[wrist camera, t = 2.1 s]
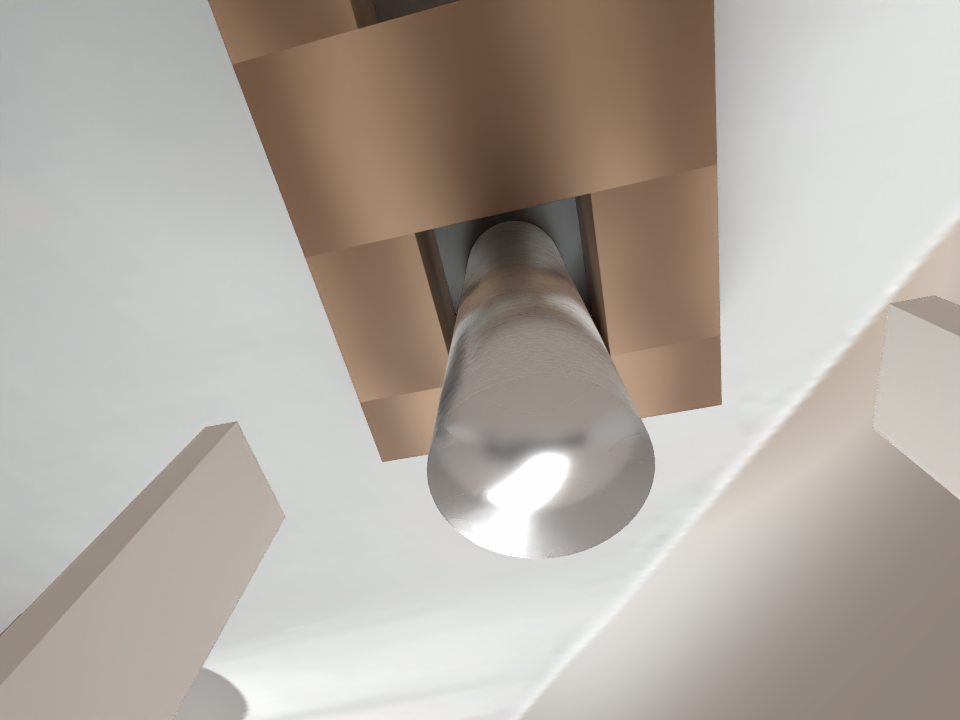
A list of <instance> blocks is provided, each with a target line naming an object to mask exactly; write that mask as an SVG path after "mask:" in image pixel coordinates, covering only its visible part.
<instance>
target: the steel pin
mask: <svg viewBox="0 0 960 720" xmlns="http://www.w3.org/2000/svg"><path fill="white" fill-rule="evenodd" d="M654 472H655V457H654V451H653V446H652V443H651V440H650V437H649V434H648V432H647V430H646V428H645V426H644V424H643V422H642V420H641V418H640V416H639V414H638V412H637V410H636V408H635V406H634V404H633V402H632V400H631V398H630V396H629V394H628V391H627V389H626V387H625V385H624V383H623V381H622V379H621V377H620V375H619V373H618V371H617V369H616V367H615V365H614V363H613V361H612V359H611V357H610V355H609V353H608V351H607V349H606V347H605V345H604V343H603V341H602V339H601V337H600V335H599V333H598V331H597V329H596V326H595V324H594V322H593V320H592V318H591V316H590V314H589V312H588V310H587V308H586V306H585V304H584V302H583V300H582V298H581V296H580V294H579V292H578V290H577V288H576V286H575V284H574V282H573V280H572V278H571V276H570V274H569V272H568V270H567V268H566V266H565V264H564V262H563V259H562V257H561V255H560V253H559V251H558V249H557V247H556V245H555V244H554V242H553V240H552V239H551V238H550V236H549V235H548V234H547V233H546V232H544V231H543V230H542V229H541V228H539V227H537V226H535V225H533V224H530V223H527V222H522V221H508V222H503V223H500V224H497V225H495V226H493V227H491V228H489V229H488V230H486V231H485V232H484V233H483V234H482V235H481V236H480V237H479V238H478V239H477V241H476V242H475V243H474V245H473V247H472V249H471V252H470V255H469V259H468V264H467V269H466V274H465V278H464V283H463V288H462V293H461V298H460V303H459V308H458V313H457V318H456V323H455V328H454V332H453V337H452V342H451V347H450V352H449V357H448V362H447V367H446V372H445V377H444V381H443V386H442V391H441V396H440V401H439V406H438V411H437V416H436V421H435V426H434V431H433V435H432V440H431V445H430V450H429V455H428V463H427V477H428V484H429V488H430V492H431V495H432V497H433V500H434V502H435V504H436V506H437V508H438V509H439V511H440V512H441V514H442V515H443V517H444V518H445V519H446V520H447V521H448V523H449V524H450V525H451V526H452V527H453V528H455V529H456V530H457V531H458V532H459V533H460V534H462V535H463V536H465V537H466V538H467V539H469V540H471V541H472V542H474V543H476V544H478V545H480V546H482V547H484V548H487V549H489V550H491V551H495V552H498V553H501V554H505V555H510V556H514V557H522V558H553V557H561V556H566V555H571V554H574V553H578V552H581V551H584V550H587V549H589V548H592V547H594V546H597V545H598V544H600V543H602V542H604V541H606V540H608V539H609V538H611V537H612V536H614V535H615V534H617V533H618V532H619V531H621V530H622V529H623V528H624V527H625V526H626V525H627V524H629V522H630V521H631V520H632V519H633V518H634V517H635V516H636V515H637V513H638V512H639V510H640V509H641V507H642V506H643V505H644V503H645V501H646V499H647V497H648V495H649V492H650V489H651V486H652V483H653V478H654Z"/></svg>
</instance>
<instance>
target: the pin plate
mask: <svg viewBox="0 0 960 720" xmlns="http://www.w3.org/2000/svg"><path fill="white" fill-rule="evenodd" d="M208 2H209V4H210V7H211V9H212V12H213V15H214V17H215V20H216V23H217V25H218V28H219V31H220V33H221V36H222V39H223V41H224V44H225V47H226V49H227V52H228V54H229V57H230V60H231V62H232V65H233V68H234V70H235V73H236V76H237V78H238V81H239V84H240V86H241V89H242V92H243V94H244V97H245V99H246V102H247V105H248V107H249V110H250V113H251V115H252V118H253V121H254V123H255V126H256V129H257V131H258V134H259V137H260V139H261V142H262V144H263V147H264V150H265V152H266V155H267V158H268V160H269V163H270V166H271V168H272V171H273V174H274V176H275V179H276V182H277V184H278V187H279V189H280V192H281V195H282V197H283V200H284V203H285V205H286V208H287V211H288V213H289V216H290V219H291V221H292V224H293V227H294V229H295V232H296V234H297V237H298V240H299V242H300V245H301V248H302V250H303V253H304V256H305V258H306V261H307V264H308V266H309V269H310V272H311V274H312V277H313V280H314V282H315V285H316V287H317V290H318V293H319V295H320V298H321V301H322V303H323V306H324V309H325V311H326V314H327V317H328V319H329V322H330V325H331V327H332V330H333V332H334V335H335V338H336V340H337V343H338V346H339V348H340V351H341V354H342V356H343V359H344V362H345V364H346V367H347V370H348V372H349V375H350V377H351V380H352V383H353V385H354V388H355V391H356V393H357V396H358V399H359V401H360V404H361V407H362V409H363V412H364V415H365V417H366V420H367V422H368V425H369V428H370V430H371V433H372V436H373V438H374V441H375V444H376V446H377V449H378V452H379V454H380V457H381V460H382V462H386V461H392V460H397V459H403V458H409V457H415V456H421V455H427V454H429V450H430V445H431V440H432V435H433V431H434V426H435V421H436V416H437V411H438V406H439V401H440V396H441V391H442V386H443V381H444V377H445V372H446V367H447V362H448V357H449V352H450V347H451V342H452V337H453V332H454V328H455V323H456V316H455V312H454V308H453V305H452V301H451V297H450V293H449V289H448V285H447V282H446V278H445V274H444V270H443V266H442V262H441V259H440V255H439V251H438V247H437V243H436V239H435V236H434V232H433V229H434V228H439V227H443V226H448V225H452V224H456V223H461V222H465V221H470V220H474V219H479V218H483V217H487V216H492V215H496V214H501V213H505V212H510V211H514V210H518V209H523V208H527V207H532V206H536V205H541V204H545V203H549V202H554V201H558V200H563V199H567V198H572V197H576V204H577V212H578V219H579V226H580V234H581V241H582V248H583V256H584V263H585V270H586V278H587V285H588V292H589V300H590V307H591V314H592V320H593V322H594V324H595V326H596V329H597V331H598V333H599V335H600V337H601V339H602V341H603V343H604V345H605V347H606V349H607V351H608V353H609V355H610V357H611V359H612V361H613V363H614V365H615V367H616V369H617V371H618V373H619V375H620V377H621V379H622V381H623V383H624V385H625V387H626V389H627V391H628V394H629V396H630V398H631V400H632V402H633V404H634V406H635V408H636V410H637V412H638V414H639V416H640V418H646V417H652V416H658V415H663V414H669V413H675V412H681V411H687V410H693V409H699V408H705V407H711V406H717V405H722V398H721V347H720V296H719V245H718V195H717V144H716V93H715V42H714V0H459V1H456V2H452V3H449V4H445V5H441V6H438V7H434V8H431V9H427V10H424V11H420V12H417V13H413V14H409V15H406V16H402V17H399V18H395V19H392V20H388V21H385V22H381V23H379V21H378V17H377V13H376V9H375V5H374V2H373V0H208Z"/></svg>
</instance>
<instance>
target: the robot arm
mask: <svg viewBox="0 0 960 720" xmlns="http://www.w3.org/2000/svg"><path fill="white" fill-rule="evenodd" d="M873 429H874V430H876V431H877V432H878V433H879V434H880V435H882V436H883V437H884V438H885V439H887V440H888V441H889V442H890V443H891V444H893V445H894V446H895V447H896V448H898V449H899V450H900V451H901V452H902V453H904V454H905V455H906V456H907V457H908V458H910V459H911V460H912V461H913V462H914V463H916V464H917V465H918V466H919V467H921V468H922V469H923V470H924V471H926V472H927V473H928V474H929V475H930V476H932V477H933V478H934V479H935V480H936V481H938V482H939V483H940V484H941V485H943V486H944V487H945V488H946V489H948V490H949V491H950V492H951V493H952V494H954V495H955V496H956V497H957V498H958V499H960V305H958V304H955V303H952V302H950V301H947V300H945V299H942V298H940V297H937V296H929V297H924V298H918V299H913V300H907V301H901V302H896V303H890V304H889V307H888V315H887V322H886V330H885V338H884V345H883V353H882V361H881V369H880V377H879V384H878V391H877V399H876V407H875V414H874V422H873ZM284 518H285V515H284V513H283V511H282V509H281V507H280V505H279V503H278V501H277V499H276V497H275V495H274V493H273V491H272V489H271V487H270V485H269V483H268V481H267V479H266V477H265V476H264V474H263V472H262V470H261V468H260V466H259V464H258V462H257V460H256V458H255V456H254V454H253V452H252V450H251V448H250V446H249V444H248V442H247V440H246V438H245V436H244V434H243V432H242V430H241V428H240V426H239V424H238V422H231V423H226V424H220V425H215V426H209V427H205V428H204V429H203V430H202V431H201V432H200V433H199V434H198V435H197V436H196V437H195V438H194V439H193V440H192V441H191V442H190V443H189V444H188V445H187V446H186V447H185V448H184V449H183V451H182V452H181V453H180V454H179V455H178V456H177V457H176V458H175V459H174V460H173V461H172V462H171V463H170V464H169V465H168V466H167V467H166V468H165V469H164V470H163V471H162V472H161V473H160V474H159V475H158V476H157V477H156V478H155V479H154V480H153V481H152V482H151V483H150V484H149V485H148V486H147V487H146V488H145V489H144V490H143V491H142V492H141V493H140V494H139V495H138V496H137V497H136V498H135V499H134V500H133V501H132V502H131V503H130V504H129V505H128V506H127V507H126V508H125V509H124V510H123V512H122V513H121V514H120V515H119V516H118V517H117V518H116V519H115V520H114V521H113V522H112V523H111V524H110V525H109V526H108V527H107V528H106V529H105V530H104V531H103V532H102V533H101V534H100V535H99V536H98V537H97V538H96V539H95V540H94V541H93V542H92V543H91V544H90V545H89V546H88V547H87V548H86V549H85V550H84V551H83V552H82V553H81V554H80V555H79V556H78V557H77V558H76V559H75V560H74V561H73V562H72V563H71V564H70V565H69V566H68V567H67V568H66V569H65V570H64V571H63V572H62V574H61V575H60V576H59V577H58V578H57V579H56V580H55V581H54V582H53V583H52V584H51V585H50V586H49V587H48V588H47V589H46V590H45V591H44V592H43V593H42V594H41V595H40V596H39V597H38V598H37V599H36V600H35V601H34V602H33V603H32V604H31V605H30V606H29V607H28V608H27V609H26V610H25V611H24V612H23V613H22V614H21V615H19V616H18V617H17V618H16V619H15V621H14V622H13V623H12V624H11V625H10V626H9V627H8V628H7V629H6V630H5V631H4V632H3V633H2V634H1V635H0V720H173V718H174V716H175V715H176V713H177V711H178V709H179V707H180V706H181V704H182V702H183V700H184V698H185V697H186V695H187V693H188V691H189V689H190V688H191V686H192V684H193V682H194V680H195V679H196V677H197V675H198V673H199V671H200V670H201V668H202V666H203V664H204V662H205V661H206V659H207V657H208V655H209V653H210V652H211V650H212V648H213V646H214V644H215V643H216V641H217V639H218V637H219V635H220V634H221V632H222V630H223V628H224V626H225V625H226V623H227V621H228V619H229V617H230V616H231V614H232V612H233V610H234V608H235V607H236V605H237V603H238V601H239V599H240V598H241V596H242V594H243V592H244V590H245V589H246V587H247V585H248V583H249V581H250V580H251V578H252V576H253V574H254V572H255V571H256V569H257V567H258V565H259V563H260V562H261V560H262V558H263V556H264V554H265V553H266V551H267V549H268V547H269V545H270V544H271V542H272V540H273V538H274V536H275V535H276V533H277V531H278V529H279V527H280V526H281V524H282V522H283V520H284Z"/></svg>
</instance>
